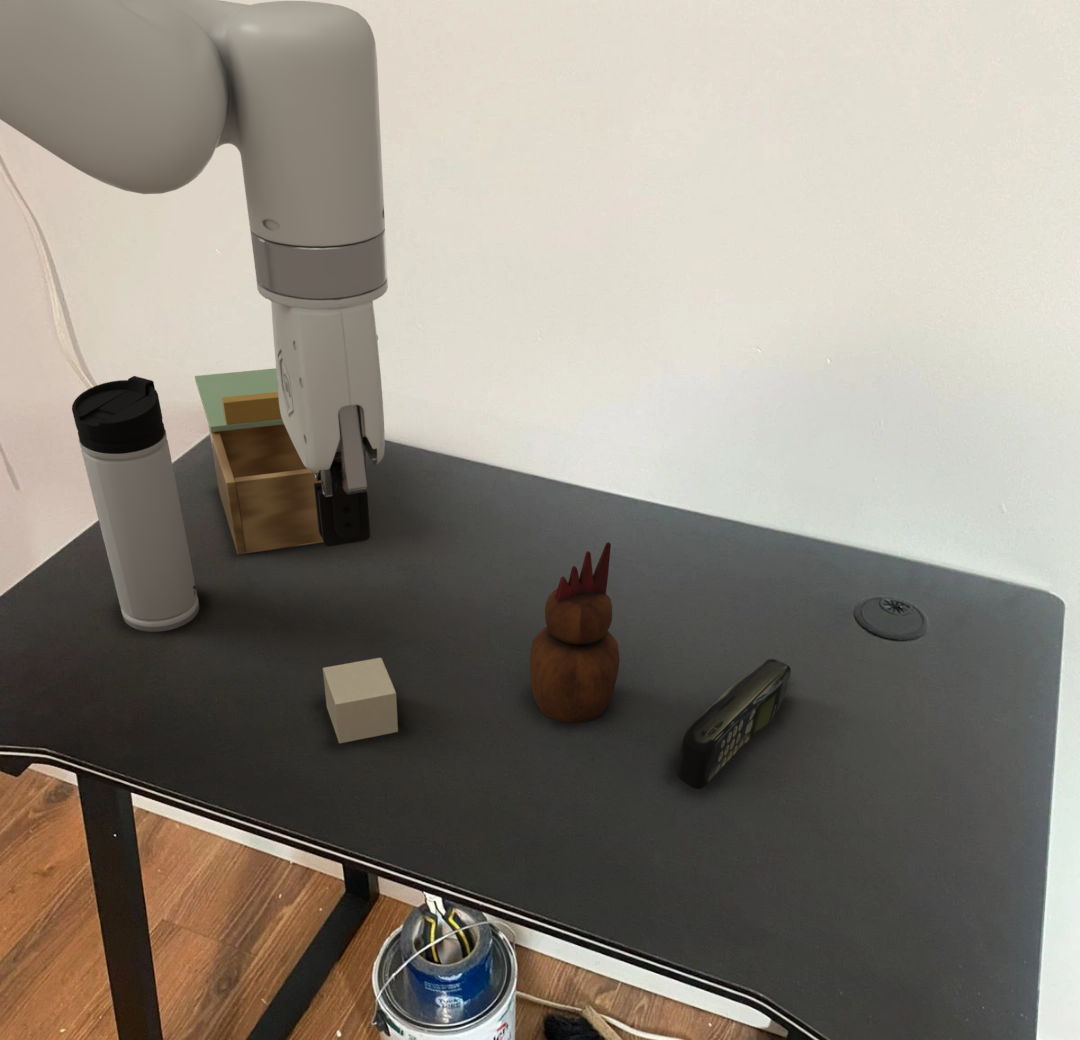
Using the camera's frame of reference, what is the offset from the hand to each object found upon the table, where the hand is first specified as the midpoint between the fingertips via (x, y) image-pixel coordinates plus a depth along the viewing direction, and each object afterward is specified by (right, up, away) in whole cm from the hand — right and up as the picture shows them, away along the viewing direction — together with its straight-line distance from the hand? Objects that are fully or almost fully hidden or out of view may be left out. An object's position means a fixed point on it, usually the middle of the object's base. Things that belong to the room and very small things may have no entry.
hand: (344, 537), depth 73 cm
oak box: (-11, +7, +31) cm, 34 cm away
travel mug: (-19, -4, +18) cm, 27 cm away
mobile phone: (+29, -14, +10) cm, 33 cm away
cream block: (0, -13, +9) cm, 16 cm away
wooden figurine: (+16, -12, +11) cm, 23 cm away
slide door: (-14, +19, +32) cm, 40 cm away
